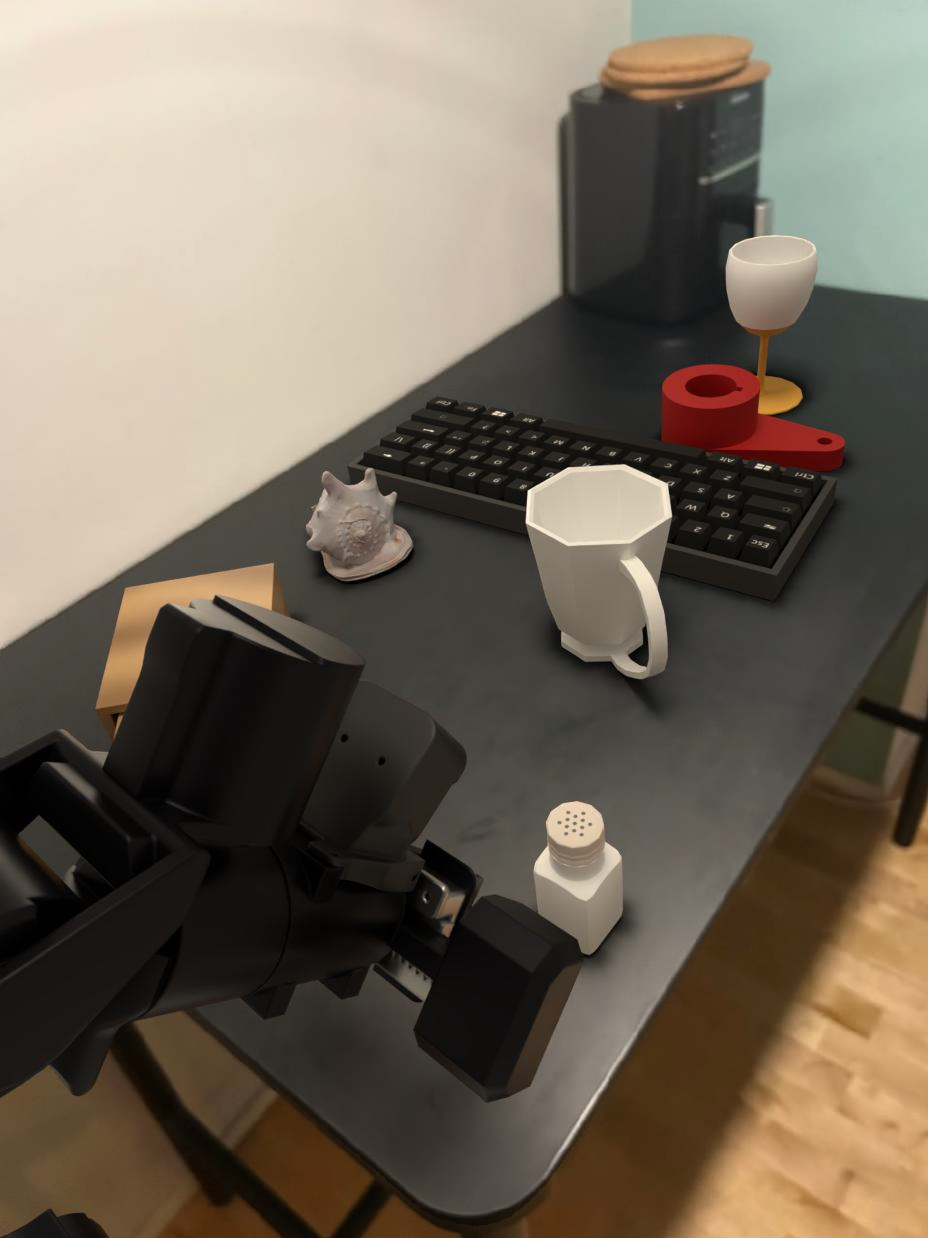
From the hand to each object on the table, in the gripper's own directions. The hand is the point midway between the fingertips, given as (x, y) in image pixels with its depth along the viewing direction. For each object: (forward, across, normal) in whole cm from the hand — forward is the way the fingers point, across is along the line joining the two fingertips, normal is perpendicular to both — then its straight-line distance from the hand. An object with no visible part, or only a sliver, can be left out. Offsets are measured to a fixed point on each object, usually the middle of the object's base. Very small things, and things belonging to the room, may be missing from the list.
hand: (470, 881), depth 46 cm
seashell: (+30, +41, -10) cm, 51 cm away
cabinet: (+15, +36, +4) cm, 40 cm away
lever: (+54, +18, -35) cm, 66 cm away
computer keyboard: (+43, +28, -24) cm, 56 cm away
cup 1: (+30, +12, -11) cm, 35 cm away
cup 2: (+61, +22, -42) cm, 78 cm away
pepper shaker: (+15, 0, +4) cm, 16 cm away
